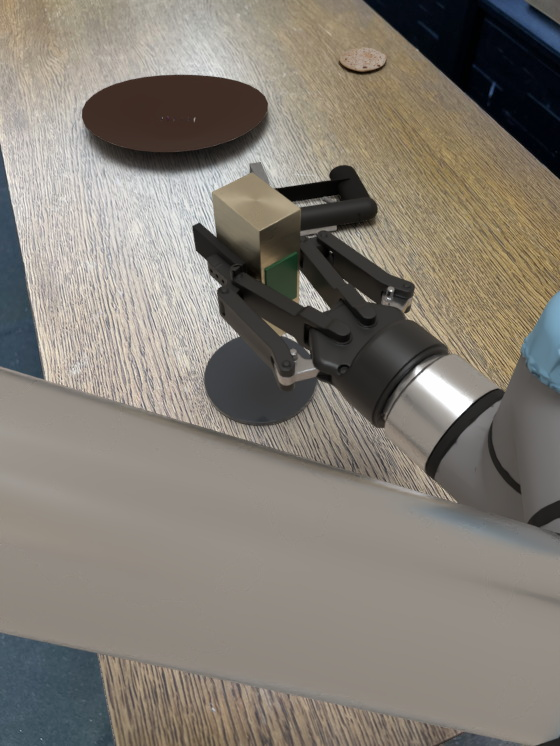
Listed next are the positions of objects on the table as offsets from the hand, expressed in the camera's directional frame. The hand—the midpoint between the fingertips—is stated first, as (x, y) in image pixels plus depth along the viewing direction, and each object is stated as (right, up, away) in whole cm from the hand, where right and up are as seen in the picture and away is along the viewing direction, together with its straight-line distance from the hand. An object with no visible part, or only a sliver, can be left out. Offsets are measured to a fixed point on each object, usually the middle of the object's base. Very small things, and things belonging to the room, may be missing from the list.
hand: (220, 225), depth 56 cm
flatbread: (+19, +40, +54) cm, 70 cm away
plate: (-11, +26, +44) cm, 52 cm away
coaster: (+3, -13, +13) cm, 19 cm away
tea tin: (+3, -8, +3) cm, 9 cm away
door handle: (+7, +10, +31) cm, 33 cm away
